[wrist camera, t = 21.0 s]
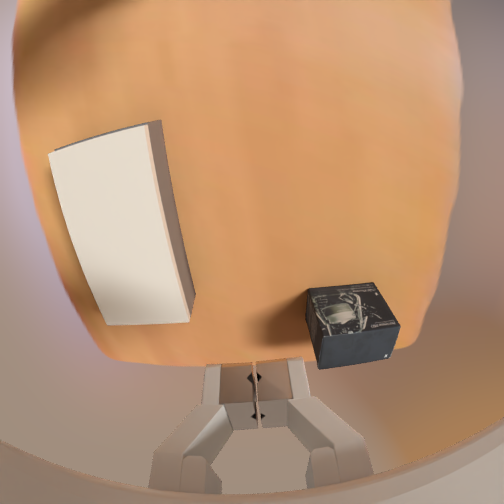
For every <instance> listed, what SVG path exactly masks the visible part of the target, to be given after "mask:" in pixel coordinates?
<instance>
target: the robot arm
mask: <svg viewBox="0 0 504 504" xmlns="http://www.w3.org/2000/svg"><path fill="white" fill-rule="evenodd" d="M256 371H257V379H258V383H257V390H258V404H259V410H260V413H261V422H262V427H263V428H271V427H283V426H284V427H285V426H288V428H289V429H290V430H291V431H292V433H293V434H294V435H295V436H296V437H297V438H298V440H299V441H300V442H301V443H302V444H303V445H304V446H305V447H306V448H307V450H308V451H309V452H310V458H309V462H308V466H307V471H306V484H307V489H302V490H295V491H287V492H275V493H263V494H222V481H221V479H220V478H219V477H218V476H217V474H216V473H215V472H214V470H213V469H212V467H211V466H210V465H211V464H212V463H213V461H214V460H215V458H216V457H217V455H218V454H219V452H220V451H221V449H222V448H223V446H224V445H225V443H226V442H227V440H228V439H229V437H230V436H231V434H232V433H233V430H245V429H257V428H258V416H257V407H256V402H257V396H256V384H255V377H254V374H253V365H252V362H250V363H227V364H207V365H206V367H205V374H204V383H203V393H202V402H201V405H196V407H195V408H194V409H193V410H192V411H191V412H190V413H189V414H188V415H187V417H186V418H185V419H184V420H183V421H182V422H181V423H180V424H179V425H178V427H177V428H176V429H175V430H174V431H173V432H172V433H171V434H170V435H169V436H168V437H167V439H166V440H165V441H164V442H163V443H162V444H161V445H160V446H159V447H158V448H157V449H156V450H155V451H154V455H153V461H152V467H151V474H150V480H149V486H148V488H145V487H139V486H133V485H129V484H124V483H119V482H115V481H110V480H106V479H102V478H98V477H95V476H91V475H87V474H84V473H81V472H77V471H75V470H71V469H68V468H65V467H63V466H60V465H57V464H54V463H51V462H49V461H46V460H44V459H41V458H39V457H36V456H34V455H32V454H29V453H27V452H25V451H23V450H20V449H18V448H16V447H14V446H12V445H10V444H8V443H6V442H4V441H2V440H0V504H504V417H503V418H501V419H500V420H498V421H497V422H495V423H493V424H491V425H490V426H488V427H486V428H485V429H483V430H481V431H479V432H478V433H476V434H474V435H472V436H470V437H468V438H466V439H464V440H462V441H460V442H458V443H456V444H454V445H452V446H450V447H448V448H445V449H443V450H441V451H439V452H436V453H434V454H432V455H430V456H427V457H424V458H422V459H419V460H417V461H414V462H411V463H409V464H406V465H403V466H400V467H397V468H394V469H391V470H388V471H385V472H381V473H378V474H375V475H374V473H373V469H372V465H371V461H370V458H369V454H368V450H367V446H366V442H365V439H364V437H362V436H361V435H360V434H359V433H358V432H356V431H355V430H354V429H353V428H351V427H350V426H349V425H348V424H347V423H346V422H345V421H343V420H342V419H341V418H340V417H339V416H337V415H336V414H335V413H334V412H333V411H332V410H331V409H329V408H328V407H327V406H326V405H325V404H324V403H322V402H321V401H320V400H319V399H318V398H317V397H316V396H311V395H310V390H309V385H308V381H307V376H306V371H305V366H304V361H303V358H302V357H294V358H287V359H286V358H283V359H275V360H266V361H256Z"/></svg>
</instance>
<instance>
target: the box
mask: <svg viewBox="0 0 504 504" xmlns="http://www.w3.org/2000/svg"><path fill="white" fill-rule="evenodd" d="M306 322H307V325H308V329H309V332H310V337H311V341H312V344H313V348H314V353H315V356H316V360H317V365H318V369H328V368H335V367H341V366H349V365H355V364H361V363H367V362H372V361H377V360H383V359H388V358H390V357H391V354H392V351H393V349H394V346H395V344H396V340H397V338H398V334H399V330H400V327H401V326H400V324H399V323H398V321H397V319H396V318H395V316H394V315H393V313H392V311H391V310H390V308H389V306H388V305H387V303H386V302H385V300H384V298H383V297H382V295H381V294H380V292H379V290H378V289H377V287H376V286H375V284H374V283H363V284H354V285H342V286H332V287H320V288H309V289H308V295H307V307H306Z"/></svg>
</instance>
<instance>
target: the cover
mask: <svg viewBox="0 0 504 504" xmlns="http://www.w3.org/2000/svg"><path fill="white" fill-rule="evenodd" d="M48 156H49V161H50V165H51V170H52V174H53V178H54V182H55V186H56V190H57V194H58V198H59V201H60V205H61V208H62V212H63V215H64V218H65V221H66V225H67V228H68V231H69V234H70V237H71V240H72V243H73V245H74V248H75V251H76V254H77V256H78V259H79V262H80V264H81V267H82V269H83V272H84V274H85V277H86V279H87V282H88V284H89V287H90V289H91V291H92V294H93V296H94V298H95V300H96V303H97V305H98V307H99V309H100V311H101V313H102V315H103V318H104V320H105V322H106V324H107V325H142V324H165V323H183V322H189V321H190V313H189V310H188V306H187V303H186V299H185V295H184V292H183V288H182V284H181V281H180V277H179V273H178V269H177V265H176V261H175V257H174V253H173V249H172V245H171V241H170V237H169V233H168V228H167V224H166V219H165V215H164V210H163V205H162V201H161V196H160V191H159V186H158V181H157V176H156V170H155V165H154V159H153V154H152V148H151V142H150V136H149V129H148V124H147V125H143V126H138V127H134V128H130V129H126V130H122V131H118V132H115V133H111V134H107V135H104V136H100V137H97V138H93V139H90V140H87V141H84V142H81V143H77V144H74V145H71V146H68V147H66V148H63V149H60V150H57V151H54V152H52V153H49V154H48Z"/></svg>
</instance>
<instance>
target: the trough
mask: <svg viewBox="0 0 504 504" xmlns="http://www.w3.org/2000/svg"><path fill="white" fill-rule="evenodd" d="M147 124H148V129H149V136H150V142H151V148H152V154H153V159H154V165H155V170H156V176H157V181H158V186H159V191H160V196H161V201H162V205H163V210H164V215H165V219H166V224H167V228H168V233H169V237H170V241H171V245H172V249H173V253H174V257H175V261H176V265H177V269H178V273H179V277H180V281H181V284H182V288H183V292H184V295H185V299H186V303H187V306H188V310H189V313H190V317H191V313H192V309H193V304H194V299H195V295H196V293H195V289H194V285H193V281H192V277H191V273H190V269H189V265H188V260H187V256H186V252H185V247H184V243H183V238H182V233H181V229H180V224H179V219H178V214H177V209H176V204H175V199H174V194H173V189H172V183H171V178H170V172H169V166H168V161H167V155H166V148H165V142H164V136H163V129H162V122H161V120H157V121H152V122H147V123H143V124H139V125H134V126H130V127H126V128H122V129H119V130H115V131H111V132H108V133H104V134H101V135H97V136H94V137H91V138H87V139H84V140H81V141H78V142H75V143H72V144H69V145H66V146H63V147H60V148H58V149H55V151H57V150H60V149H63V148H66V147H68V146H71V145H74V144H77V143H81V142H84V141H87V140H90V139H93V138H97V137H100V136H104V135H107V134H111V133H115V132H118V131H122V130H126V129H130V128H134V127H138V126H143V125H147Z"/></svg>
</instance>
